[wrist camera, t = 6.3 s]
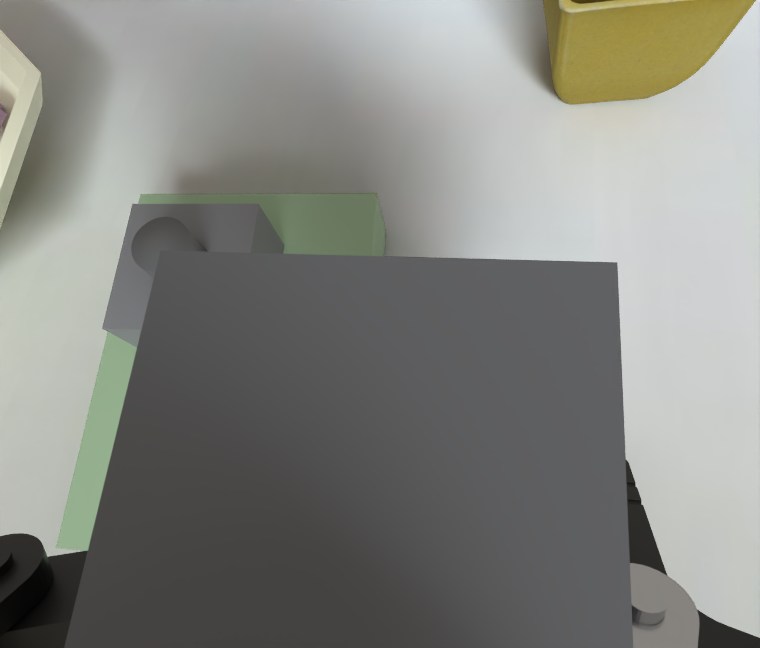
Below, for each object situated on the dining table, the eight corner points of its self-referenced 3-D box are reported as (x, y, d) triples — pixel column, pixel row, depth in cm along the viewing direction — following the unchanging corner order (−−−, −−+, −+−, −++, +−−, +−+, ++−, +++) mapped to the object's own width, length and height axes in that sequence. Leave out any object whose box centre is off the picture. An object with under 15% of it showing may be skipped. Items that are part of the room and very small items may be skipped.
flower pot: (691, 125, 33) (772, -13, 25) (535, 137, 34) (561, 9, 26) (666, 8, 36) (730, -151, 27) (523, 23, 37) (542, -126, 28)
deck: (98, 588, 29) (-78, 618, 19) (174, 229, 35) (71, 121, 26) (555, 635, 25) (612, 699, 16) (546, 231, 32) (583, 109, 22)
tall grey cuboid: (326, 642, 16) (-1, 912, 5) (350, 425, 18) (160, 251, 7) (511, 667, 15) (652, 1068, 4) (515, 438, 17) (616, 262, 6)
